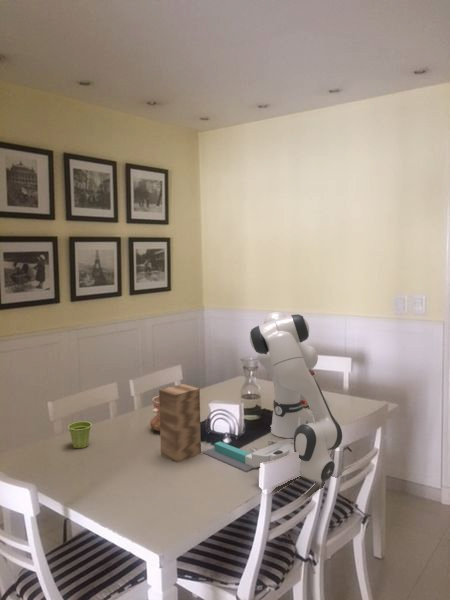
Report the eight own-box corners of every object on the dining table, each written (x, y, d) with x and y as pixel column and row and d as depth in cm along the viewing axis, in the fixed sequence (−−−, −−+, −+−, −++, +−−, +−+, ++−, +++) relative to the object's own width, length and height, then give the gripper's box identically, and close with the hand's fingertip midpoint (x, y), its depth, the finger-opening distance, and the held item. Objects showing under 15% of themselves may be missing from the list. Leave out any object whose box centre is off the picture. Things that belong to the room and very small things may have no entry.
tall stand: (184, 446, 204) (183, 383, 201) (200, 453, 197) (199, 388, 194) (161, 454, 196) (159, 389, 193) (176, 462, 188) (174, 395, 186)
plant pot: (97, 443, 208) (96, 423, 207) (82, 451, 200) (81, 430, 199) (79, 440, 212) (78, 420, 211) (64, 448, 204) (62, 427, 203)
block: (220, 448, 199) (220, 441, 199) (260, 465, 184) (260, 457, 183) (214, 450, 197) (214, 443, 197) (255, 467, 181) (255, 460, 181)
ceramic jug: (166, 438, 212) (166, 406, 211) (141, 431, 220) (141, 400, 219) (192, 426, 227) (192, 396, 226) (168, 420, 235) (168, 391, 234)
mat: (223, 445, 204) (223, 444, 204) (266, 462, 187) (266, 461, 187) (202, 453, 197) (202, 451, 197) (246, 472, 179) (246, 470, 179)
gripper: (309, 440, 177) (279, 430, 187) (270, 456, 163) (240, 445, 173) (309, 457, 177) (279, 446, 188) (270, 475, 164) (240, 462, 174)
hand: (260, 446), depth 180 cm, fingers open, 8 cm apart
